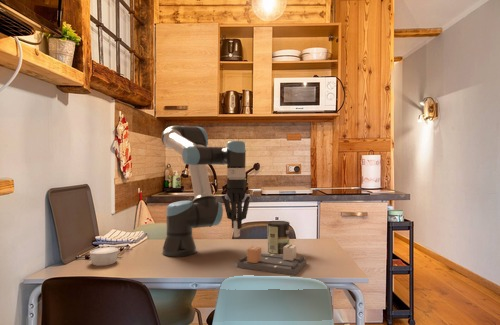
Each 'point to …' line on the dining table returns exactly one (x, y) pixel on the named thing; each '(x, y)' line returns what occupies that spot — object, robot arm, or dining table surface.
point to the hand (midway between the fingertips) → (236, 236)
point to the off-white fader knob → (289, 252)
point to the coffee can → (277, 236)
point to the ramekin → (104, 256)
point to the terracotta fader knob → (254, 254)
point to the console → (274, 264)
